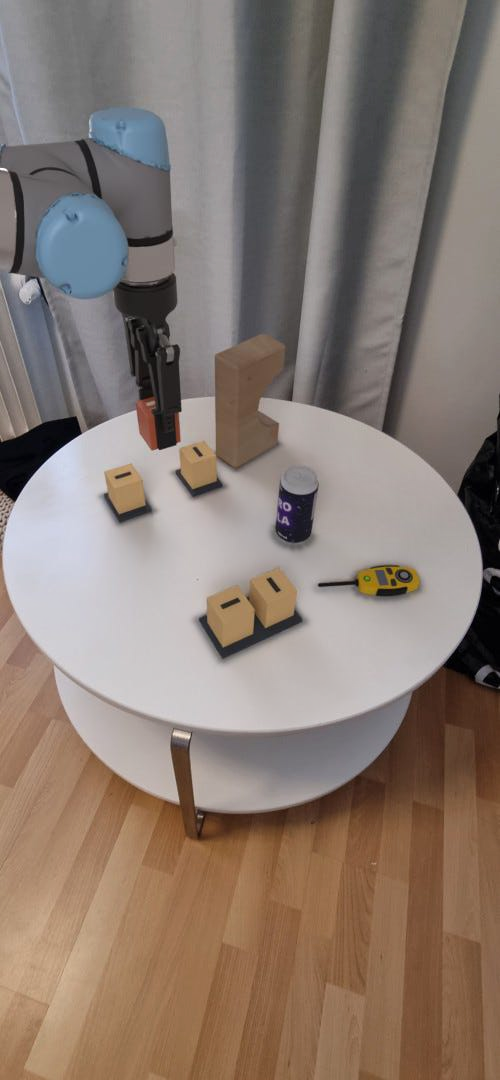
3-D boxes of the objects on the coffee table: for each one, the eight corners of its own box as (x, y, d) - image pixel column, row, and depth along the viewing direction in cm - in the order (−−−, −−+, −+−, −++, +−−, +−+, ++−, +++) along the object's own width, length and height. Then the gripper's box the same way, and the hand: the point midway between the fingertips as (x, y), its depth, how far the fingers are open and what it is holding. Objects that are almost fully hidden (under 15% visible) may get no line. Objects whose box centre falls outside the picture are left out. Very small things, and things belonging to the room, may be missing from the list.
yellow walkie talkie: (424, 586, 84) (321, 593, 82) (421, 595, 85) (320, 601, 84) (414, 561, 87) (315, 567, 86) (411, 569, 88) (313, 576, 87)
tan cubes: (119, 522, 93) (113, 493, 89) (104, 496, 97) (98, 467, 93) (222, 487, 100) (222, 458, 95) (204, 463, 104) (203, 435, 99)
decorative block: (258, 430, 111) (263, 331, 97) (279, 444, 108) (287, 344, 94) (213, 454, 106) (212, 353, 91) (234, 470, 103) (236, 368, 88)
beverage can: (285, 516, 95) (291, 458, 87) (316, 529, 94) (326, 471, 85) (268, 537, 92) (273, 479, 83) (300, 552, 90) (309, 494, 81)
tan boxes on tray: (222, 659, 77) (222, 632, 72) (198, 620, 81) (197, 592, 76) (302, 622, 81) (306, 594, 77) (276, 587, 85) (279, 559, 81)
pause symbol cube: (151, 451, 83) (147, 418, 79) (139, 433, 86) (135, 400, 82) (181, 442, 85) (178, 409, 81) (168, 425, 88) (165, 392, 83)
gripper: (205, 297, 64) (209, 463, 81) (144, 242, 75) (159, 399, 92) (141, 311, 62) (159, 479, 79) (87, 251, 72) (113, 411, 89)
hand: (159, 436), depth 85 cm, fingers closed on pause symbol cube, 5 cm apart
